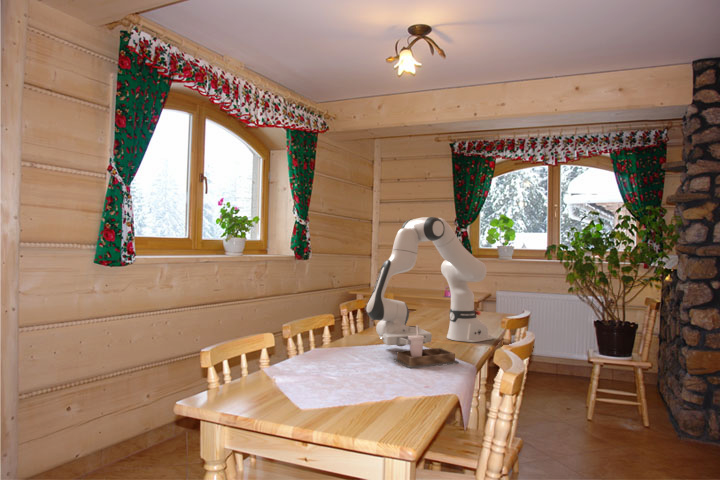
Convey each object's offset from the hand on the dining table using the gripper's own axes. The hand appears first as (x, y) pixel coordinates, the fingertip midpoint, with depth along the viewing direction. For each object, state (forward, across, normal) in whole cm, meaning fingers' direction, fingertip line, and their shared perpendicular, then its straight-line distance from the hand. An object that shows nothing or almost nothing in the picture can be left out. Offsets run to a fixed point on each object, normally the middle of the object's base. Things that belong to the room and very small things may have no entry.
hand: (417, 341), depth 185 cm
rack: (-1, +5, +8) cm, 10 cm away
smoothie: (0, 0, +8) cm, 8 cm away
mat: (-1, +5, +8) cm, 10 cm away
